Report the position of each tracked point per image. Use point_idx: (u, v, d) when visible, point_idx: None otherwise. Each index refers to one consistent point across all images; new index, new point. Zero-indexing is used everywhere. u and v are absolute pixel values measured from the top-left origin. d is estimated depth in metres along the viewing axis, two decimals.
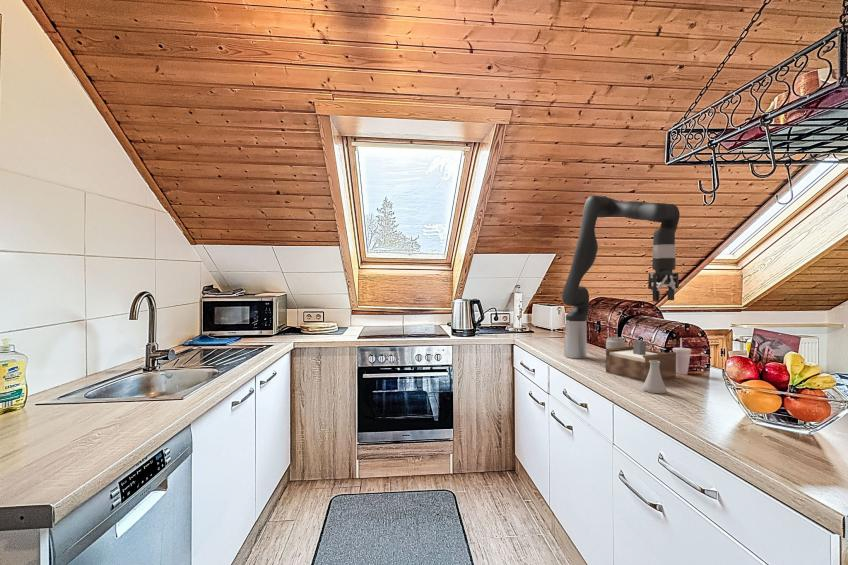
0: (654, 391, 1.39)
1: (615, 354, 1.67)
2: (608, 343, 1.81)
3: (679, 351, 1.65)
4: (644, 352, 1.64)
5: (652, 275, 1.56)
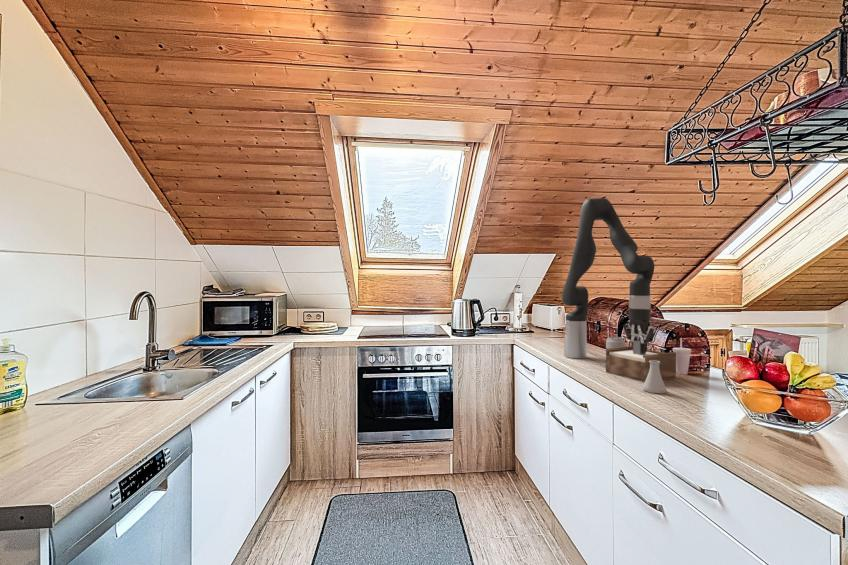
0: (654, 391, 1.39)
1: (615, 354, 1.67)
2: (608, 343, 1.81)
3: (679, 351, 1.65)
4: None
5: (654, 331, 1.59)
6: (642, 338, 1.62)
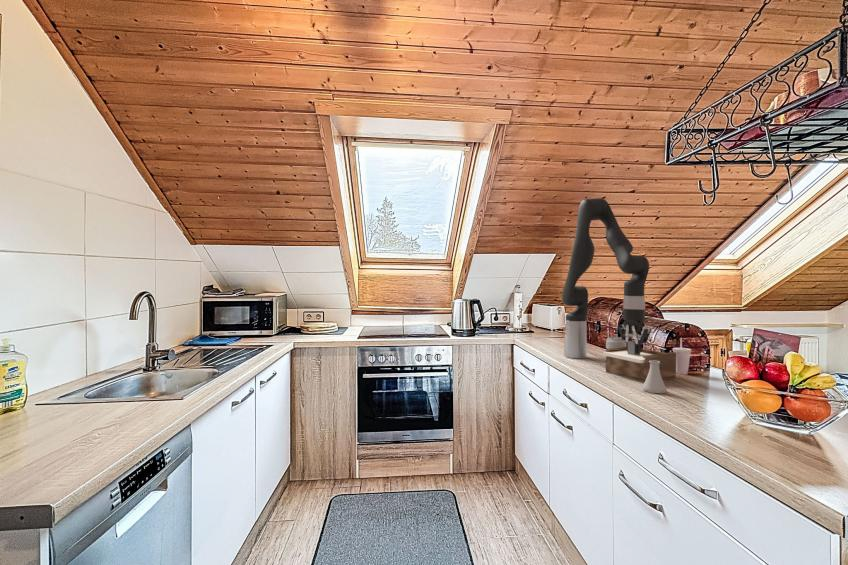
0: (654, 391, 1.39)
1: (609, 355, 1.65)
2: (608, 343, 1.81)
3: (679, 351, 1.65)
4: None
5: (649, 331, 1.57)
6: (636, 339, 1.61)
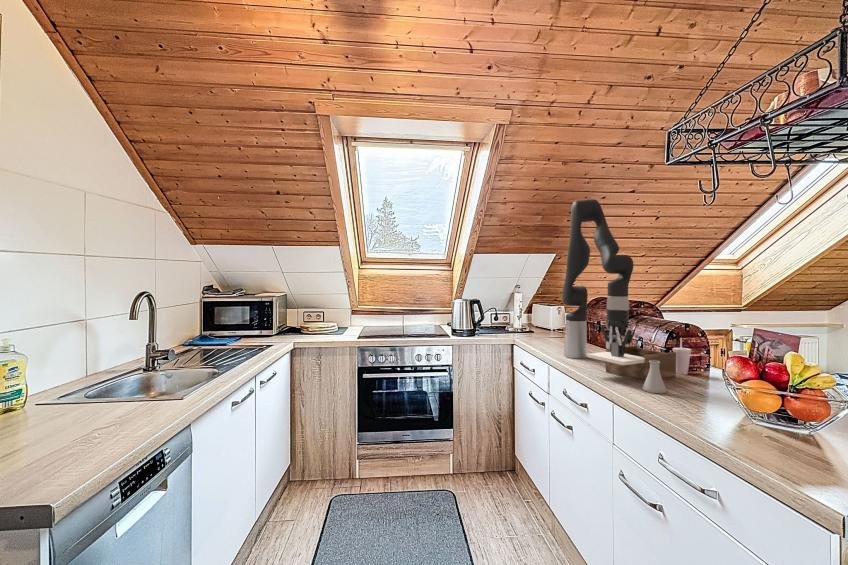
0: (654, 391, 1.39)
1: (593, 356, 1.62)
2: (608, 343, 1.81)
3: (679, 351, 1.65)
4: None
5: (632, 333, 1.54)
6: (620, 340, 1.57)
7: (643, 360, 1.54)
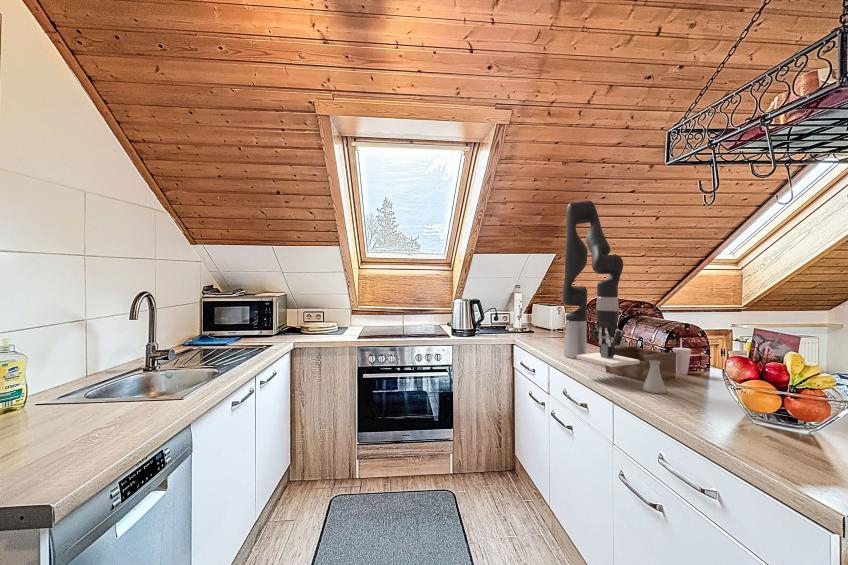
0: (654, 391, 1.39)
1: (582, 358, 1.60)
2: None
3: (679, 351, 1.65)
4: None
5: (621, 334, 1.52)
6: (609, 341, 1.55)
7: (632, 361, 1.52)
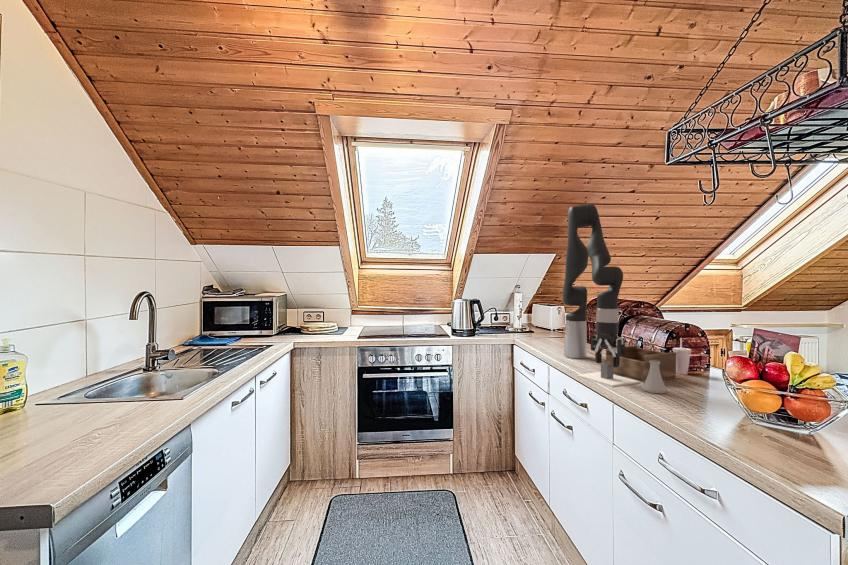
0: (654, 391, 1.39)
1: None
2: None
3: (679, 351, 1.65)
4: (612, 376, 1.57)
5: (623, 342, 1.52)
6: (613, 351, 1.54)
7: (632, 383, 1.52)
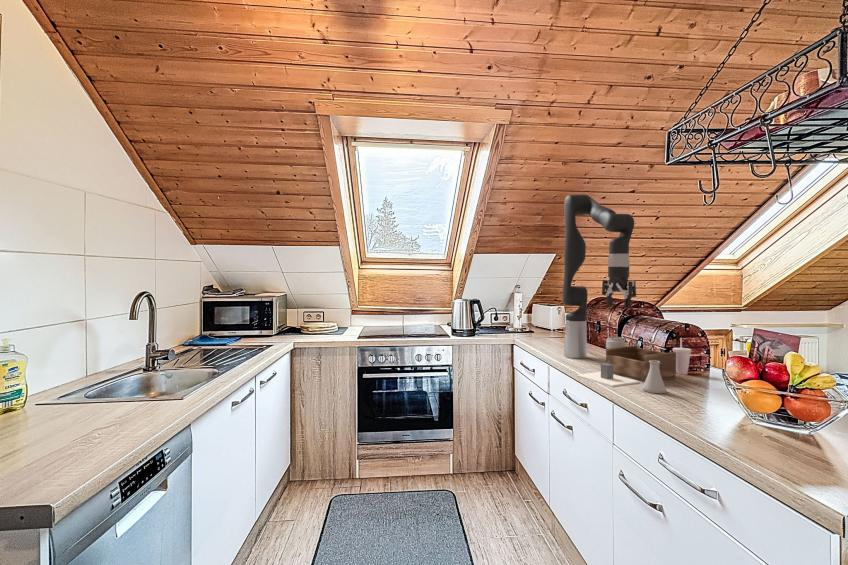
0: (654, 391, 1.39)
1: None
2: (608, 343, 1.81)
3: (679, 351, 1.65)
4: (612, 376, 1.57)
5: (633, 283, 1.60)
6: (624, 293, 1.62)
7: (632, 383, 1.52)
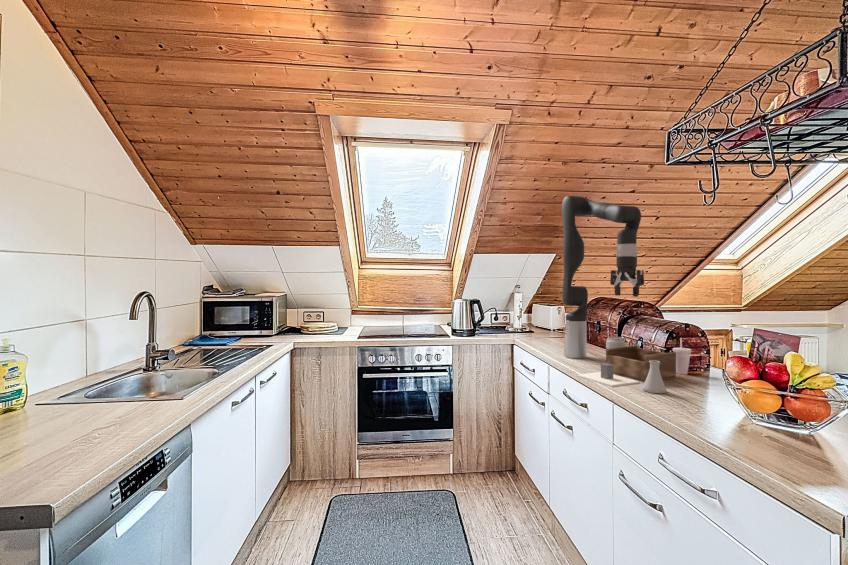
0: (654, 391, 1.39)
1: None
2: (608, 343, 1.81)
3: (679, 351, 1.65)
4: (612, 376, 1.57)
5: (641, 272, 1.66)
6: (633, 282, 1.68)
7: (632, 383, 1.52)
